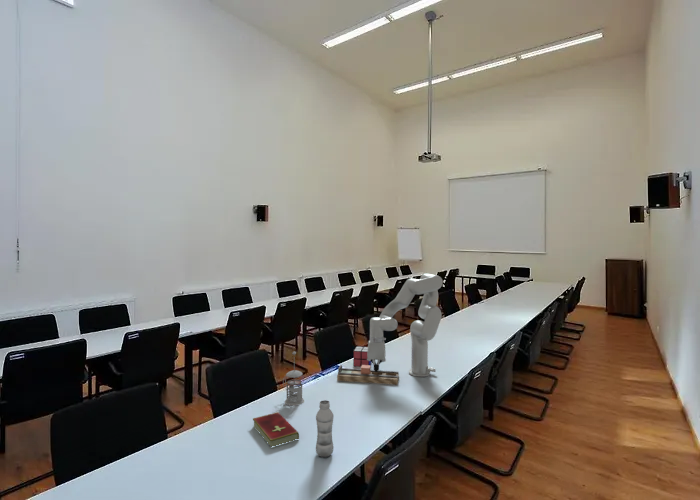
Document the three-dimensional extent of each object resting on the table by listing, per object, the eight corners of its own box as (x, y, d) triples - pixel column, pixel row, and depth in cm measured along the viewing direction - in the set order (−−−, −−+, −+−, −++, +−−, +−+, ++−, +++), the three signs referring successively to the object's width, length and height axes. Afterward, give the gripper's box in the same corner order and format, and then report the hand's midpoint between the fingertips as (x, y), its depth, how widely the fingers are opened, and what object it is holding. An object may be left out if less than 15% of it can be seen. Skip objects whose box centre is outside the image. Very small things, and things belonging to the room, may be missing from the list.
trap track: (398, 376, 224) (398, 366, 223) (397, 384, 212) (397, 374, 212) (341, 373, 230) (341, 363, 229) (337, 380, 218) (337, 370, 218)
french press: (295, 407, 184) (295, 355, 183) (277, 401, 190) (277, 352, 189) (308, 399, 192) (308, 350, 191) (290, 394, 199) (290, 347, 198)
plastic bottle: (315, 450, 147) (315, 398, 146) (333, 449, 148) (333, 398, 147) (315, 460, 141) (315, 406, 140) (334, 459, 141) (333, 405, 141)
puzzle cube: (368, 367, 240) (368, 351, 239) (353, 366, 242) (353, 350, 241) (371, 362, 250) (371, 347, 249) (356, 361, 252) (356, 346, 251)
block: (370, 372, 223) (370, 365, 223) (369, 375, 218) (369, 368, 218) (362, 371, 224) (362, 364, 224) (360, 374, 219) (360, 367, 219)
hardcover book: (278, 420, 172) (278, 411, 172) (299, 441, 154) (299, 431, 154) (252, 427, 166) (252, 417, 165) (270, 450, 148) (270, 439, 148)
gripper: (390, 338, 221) (389, 369, 222) (364, 337, 224) (364, 368, 225) (389, 341, 214) (388, 374, 215) (362, 340, 217) (362, 372, 217)
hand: (376, 371), depth 220 cm, fingers closed
